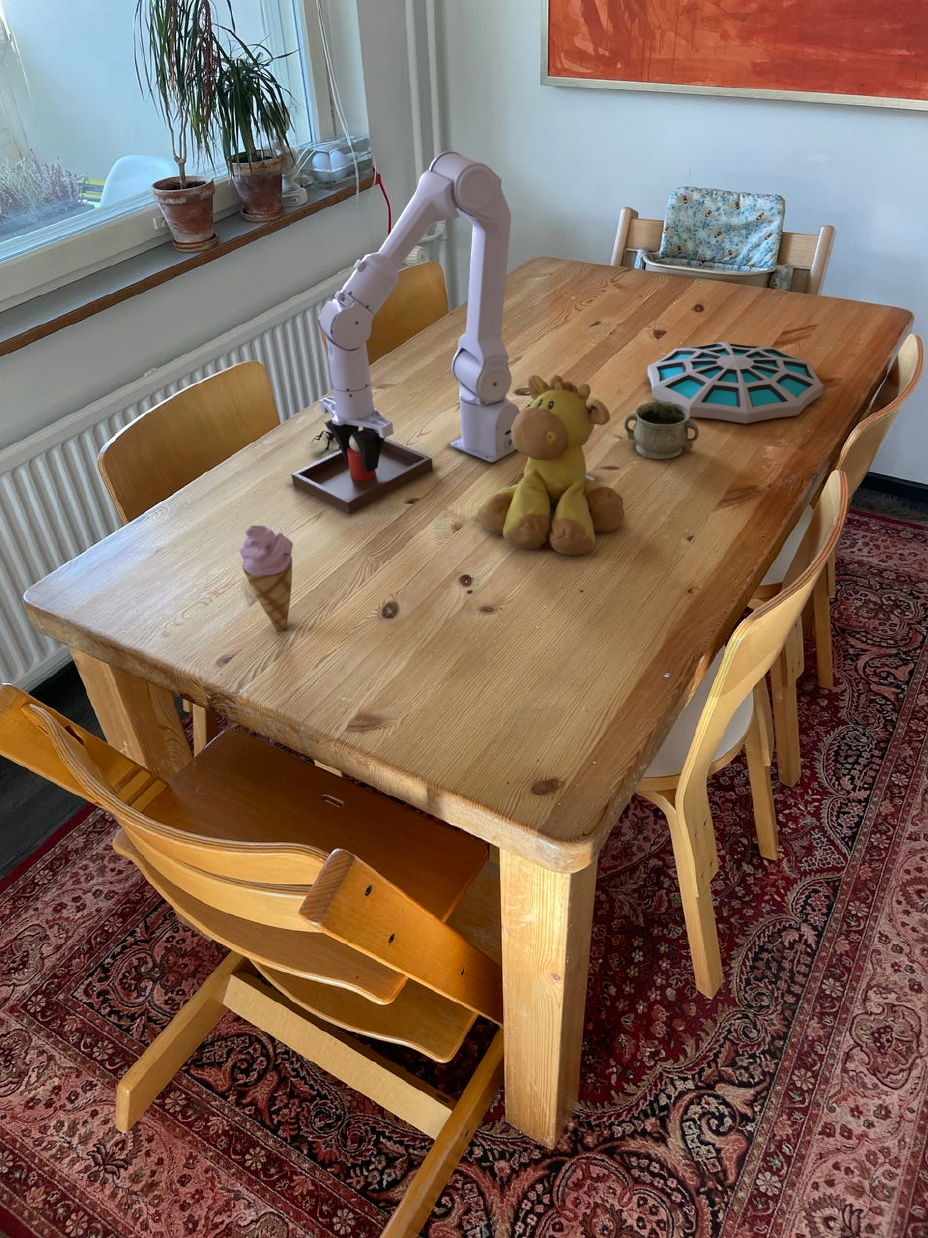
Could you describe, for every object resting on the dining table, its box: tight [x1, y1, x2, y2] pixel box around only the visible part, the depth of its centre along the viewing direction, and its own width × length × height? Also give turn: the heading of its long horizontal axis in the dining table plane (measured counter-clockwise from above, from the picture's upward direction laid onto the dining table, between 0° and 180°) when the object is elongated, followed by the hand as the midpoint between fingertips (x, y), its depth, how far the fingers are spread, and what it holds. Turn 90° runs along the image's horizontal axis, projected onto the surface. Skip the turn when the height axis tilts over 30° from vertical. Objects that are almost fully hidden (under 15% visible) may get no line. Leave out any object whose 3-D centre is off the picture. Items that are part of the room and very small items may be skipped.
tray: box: [290, 437, 434, 515], centre depth 148 cm, size 14×18×2 cm
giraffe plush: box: [477, 374, 626, 556], centre depth 132 cm, size 20×24×19 cm
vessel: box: [623, 400, 700, 460], centre depth 150 cm, size 12×9×6 cm
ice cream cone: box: [238, 525, 294, 632], centre depth 115 cm, size 7×6×15 cm
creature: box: [310, 419, 341, 457], centre depth 156 cm, size 8×5×8 cm
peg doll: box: [347, 435, 376, 481], centre depth 146 cm, size 4×4×7 cm
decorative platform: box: [646, 341, 824, 425], centre depth 167 cm, size 31×29×5 cm
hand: (361, 464), depth 147 cm, fingers closed on peg doll, 4 cm apart
